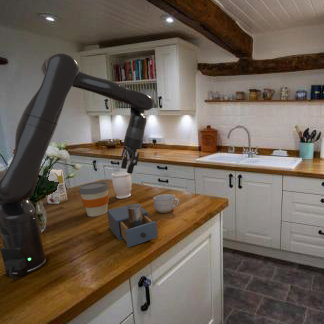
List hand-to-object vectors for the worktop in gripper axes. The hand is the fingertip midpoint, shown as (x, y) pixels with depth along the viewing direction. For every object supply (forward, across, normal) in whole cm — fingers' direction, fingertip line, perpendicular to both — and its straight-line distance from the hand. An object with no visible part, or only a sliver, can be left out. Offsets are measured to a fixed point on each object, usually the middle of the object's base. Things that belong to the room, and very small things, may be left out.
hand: (126, 170), depth 114 cm
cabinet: (+24, +12, +3) cm, 27 cm away
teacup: (+19, +5, +23) cm, 30 cm away
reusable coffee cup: (+29, -19, -2) cm, 34 cm away
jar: (+25, -36, +15) cm, 47 cm away
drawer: (+22, +23, +2) cm, 32 cm away
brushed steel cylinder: (+21, +23, +2) cm, 31 cm away
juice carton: (+36, -53, -14) cm, 66 cm away
